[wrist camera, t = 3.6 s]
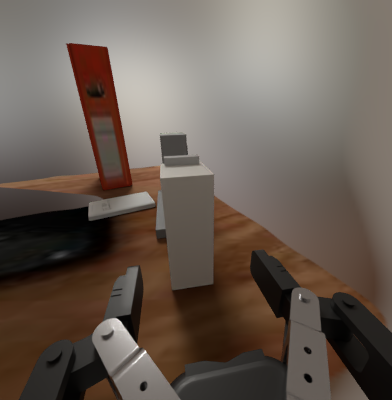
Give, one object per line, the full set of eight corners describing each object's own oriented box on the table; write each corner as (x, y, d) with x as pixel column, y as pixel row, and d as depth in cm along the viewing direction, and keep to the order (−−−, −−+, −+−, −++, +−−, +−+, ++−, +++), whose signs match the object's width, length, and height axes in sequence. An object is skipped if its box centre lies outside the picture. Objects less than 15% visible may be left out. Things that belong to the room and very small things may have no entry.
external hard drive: (156, 209, 40) (90, 223, 35) (146, 197, 46) (90, 207, 41) (155, 202, 39) (87, 215, 34) (146, 190, 46) (88, 201, 41)
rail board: (156, 238, 28) (144, 140, 23) (158, 196, 45) (151, 133, 39) (208, 232, 30) (208, 137, 24) (192, 193, 46) (189, 132, 41)
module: (171, 290, 20) (159, 168, 15) (169, 253, 25) (159, 156, 20) (215, 283, 20) (216, 164, 15) (203, 249, 26) (202, 153, 21)
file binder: (101, 190, 50) (66, 42, 38) (100, 176, 65) (74, 65, 53) (132, 185, 54) (108, 47, 41) (125, 173, 68) (106, 67, 56)
